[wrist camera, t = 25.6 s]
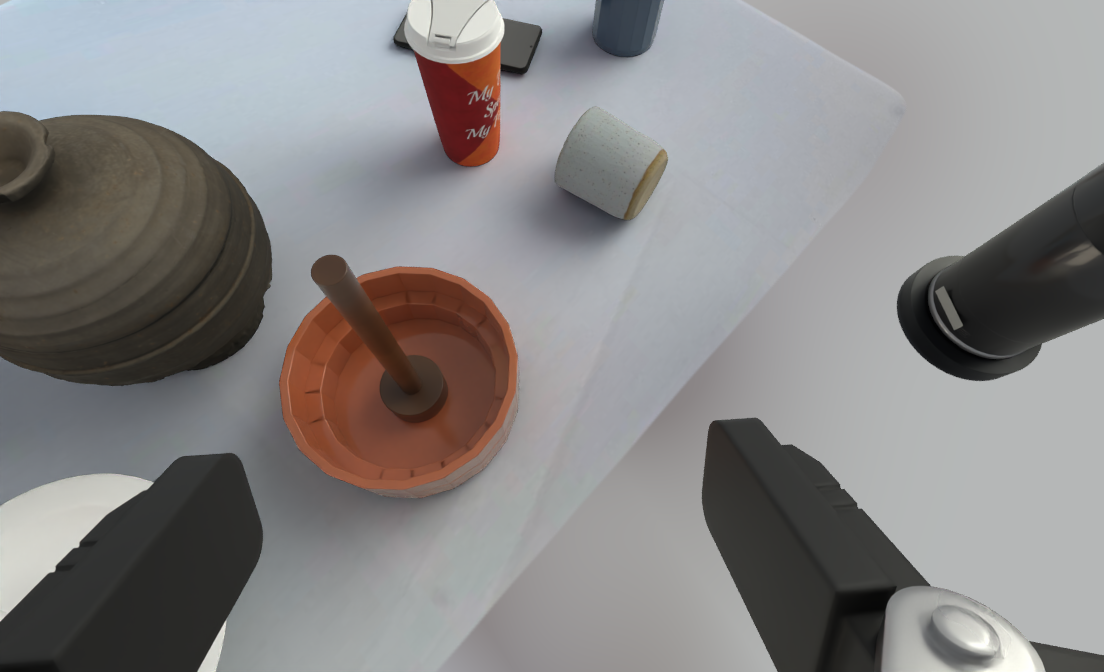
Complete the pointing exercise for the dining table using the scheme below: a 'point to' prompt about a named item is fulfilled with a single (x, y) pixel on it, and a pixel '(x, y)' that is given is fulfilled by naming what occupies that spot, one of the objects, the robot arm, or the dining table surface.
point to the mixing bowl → (354, 379)
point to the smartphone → (503, 44)
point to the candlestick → (61, 533)
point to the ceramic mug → (610, 164)
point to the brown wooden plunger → (383, 346)
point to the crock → (626, 25)
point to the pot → (123, 251)
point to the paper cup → (460, 72)
